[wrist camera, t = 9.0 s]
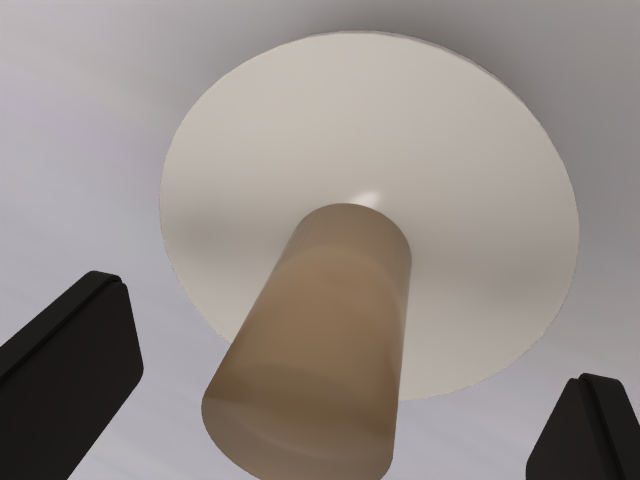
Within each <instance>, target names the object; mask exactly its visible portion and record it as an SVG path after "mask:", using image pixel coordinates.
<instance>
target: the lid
mask: <svg viewBox="0 0 640 480" xmlns="http://www.w3.org/2000/svg"><path fill="white" fill-rule="evenodd" d="M159 210H160V221H161V229H162V234H163V238H164V243H165V247H166V250H167V253H168V256H169V259H170V262H171V264H172V267H173V270H174V272H175V274H176V276H177V278H178V280H179V282H180V284H181V286H182V288H183V289H184V291H185V292H186V294H187V296H188V297H189V299H190V300H191V302H192V303H193V305H194V306H195V308H196V309H197V310H198V311H199V313H200V314H201V315H202V316H203V318H204V319H205V320H206V321H207V322H208V323H209V324H210V326H211V327H212V328H213V329H214V330H215V331H216V332H217V333H218V334H219V335H220V336H221V337H222V338H223V339H225V340H226V341H227V342H228V343H229V344H231V346H230V348H229V350H228V351H227V353H226V355H225V357H224V359H223V360H222V362H221V364H220V366H219V368H218V369H217V371H216V373H215V375H214V377H213V378H212V380H211V382H210V384H209V386H208V388H207V389H206V391H205V394H204V396H203V399H202V406H201V409H202V418H203V422H204V425H205V427H206V430H207V432H208V434H209V435H210V437H211V439H212V440H213V442H214V443H215V444H216V446H217V447H218V448H219V449H220V450H221V451H222V452H223V453H224V454H225V455H226V456H227V457H228V458H229V459H230V460H231V461H232V462H234V463H235V464H236V465H238V466H239V467H240V468H242V469H243V470H245V471H246V472H248V473H249V474H251V475H253V476H255V477H257V478H259V479H261V480H380V479H381V478H382V477H383V476H384V475H385V474H386V473H387V471H388V469H389V468H390V465H391V462H392V459H393V450H394V439H395V429H396V419H397V409H398V401H408V400H418V399H425V398H430V397H435V396H440V395H445V394H448V393H451V392H454V391H458V390H461V389H464V388H467V387H469V386H471V385H474V384H476V383H478V382H481V381H483V380H485V379H487V378H489V377H491V376H492V375H494V374H496V373H498V372H499V371H501V370H503V369H504V368H506V367H508V366H509V365H510V364H511V363H513V362H514V361H515V360H517V359H518V358H519V357H520V356H522V355H523V354H524V353H526V352H527V351H528V350H529V349H530V348H531V346H532V345H533V344H534V343H535V342H536V341H537V340H538V339H539V338H540V337H541V336H542V335H543V334H544V332H545V331H546V330H547V328H548V327H549V326H550V324H551V323H552V322H553V320H554V319H555V318H556V316H557V314H558V312H559V310H560V308H561V306H562V304H563V302H564V301H565V299H566V297H567V295H568V292H569V289H570V286H571V283H572V280H573V277H574V274H575V270H576V263H577V257H578V251H579V217H578V211H577V206H576V200H575V195H574V190H573V188H572V185H571V182H570V179H569V177H568V174H567V171H566V168H565V166H564V163H563V161H562V159H561V158H560V156H559V154H558V152H557V151H556V149H555V147H554V145H553V144H552V142H551V140H550V138H549V137H548V135H547V133H546V132H545V130H544V129H543V127H542V125H541V124H540V122H539V121H538V120H537V119H536V117H535V116H534V115H533V114H532V112H531V111H530V110H529V109H528V107H527V106H526V105H525V104H524V102H523V101H522V100H521V99H520V98H519V97H518V96H517V95H516V94H515V93H514V92H513V91H512V90H510V89H509V88H508V87H507V86H506V85H505V84H504V83H503V82H502V81H501V80H500V79H498V78H497V77H496V76H494V75H493V74H491V73H490V72H488V71H487V70H485V69H484V68H482V67H481V66H479V65H478V64H476V63H475V62H473V61H472V60H470V59H468V58H466V57H464V56H462V55H460V54H458V53H456V52H454V51H451V50H449V49H447V48H445V47H443V46H441V45H438V44H435V43H431V42H428V41H425V40H422V39H418V38H415V37H412V36H408V35H402V34H395V33H389V32H382V31H365V30H343V31H336V32H328V33H321V34H314V35H310V36H307V37H303V38H300V39H296V40H293V41H289V42H286V43H284V44H281V45H279V46H277V47H275V48H273V49H270V50H268V51H266V52H264V53H262V54H260V55H257V56H255V57H253V58H251V59H249V60H247V61H245V62H244V63H242V64H241V65H239V66H238V67H236V68H235V69H233V70H232V71H230V72H229V73H227V74H226V75H224V76H223V77H221V78H220V79H219V80H218V81H217V82H216V83H215V84H214V85H213V86H211V87H210V88H209V89H208V90H207V91H206V92H205V93H204V94H203V95H202V96H201V97H200V98H199V99H198V101H197V102H196V103H195V104H194V106H193V107H192V108H191V109H190V111H189V112H188V113H187V115H186V116H185V117H184V119H183V121H182V123H181V125H180V126H179V128H178V130H177V132H176V134H175V135H174V137H173V140H172V142H171V145H170V148H169V150H168V153H167V156H166V158H165V162H164V167H163V172H162V177H161V182H160V198H159Z"/></svg>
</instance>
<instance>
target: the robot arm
mask: <svg viewBox="0 0 640 480" xmlns="http://www.w3.org/2000/svg"><path fill="white" fill-rule="evenodd" d="M143 369H144V367H143V361H142V356H141V351H140V347H139V342H138V337H137V332H136V327H135V323H134V318H133V313H132V308H131V303H130V298H129V294H128V289H127V286H126V285H125V284H124V283H122V280H121V278H120V277H119V276H117V275H113V274H108V273H104V272H99V271H90V272H88V273H87V274H85V275H84V276H83V277H82V278H81V279H79V280H78V281H77V282H76V283H75V284H74V285H72V286H71V287H70V288H69V289H68V290H66V291H65V292H64V293H63V294H62V295H61V296H59V297H58V298H57V299H56V300H55V301H54V302H52V303H51V304H50V305H49V306H48V307H47V308H45V309H44V310H43V311H42V312H41V313H40V314H38V315H37V316H36V317H35V318H34V319H33V320H31V321H30V322H29V323H28V324H27V325H25V326H24V327H23V328H22V329H21V330H20V331H18V332H17V333H16V334H15V335H14V336H13V337H11V338H10V339H9V340H8V341H7V342H6V343H4V344H3V345H2V346H1V347H0V480H67V479H68V478H69V476H70V475H71V474H72V472H73V471H74V470H75V468H76V467H77V465H78V464H79V463H80V461H81V460H82V459H83V457H84V456H85V455H86V453H87V452H88V451H89V449H90V448H91V447H92V445H93V444H94V442H95V441H96V440H97V438H98V437H99V436H100V434H101V433H102V432H103V430H104V429H105V428H106V426H107V425H108V424H109V422H110V421H111V420H112V418H113V417H114V415H115V414H116V413H117V411H118V410H119V409H120V407H121V406H122V405H123V403H124V402H125V401H126V399H127V398H128V397H129V395H130V394H131V392H132V391H133V390H134V388H135V387H136V386H137V384H138V383H139V381H140V380H141V377H142V374H143ZM526 480H640V425H639V423H638V420H637V418H636V416H635V413H634V411H633V408H632V406H631V404H630V401H629V399H628V396H627V394H626V392H625V389H624V387H623V385H622V383H621V382H620V381H619V380H617V379H612V378H608V377H603V376H598V375H593V374H588V373H583V374H581V375H580V377H579V378H578V379H574V378H571V379H569V381H568V382H567V384H566V386H565V388H564V390H563V392H562V394H561V396H560V398H559V400H558V402H557V404H556V406H555V408H554V410H553V412H552V413H551V415H550V417H549V419H548V421H547V423H546V425H545V427H544V429H543V431H542V433H541V435H540V437H539V439H538V441H537V443H536V445H535V447H534V449H533V451H532V453H531V455H530V457H529V459H528V461H527V465H526Z"/></svg>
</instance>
